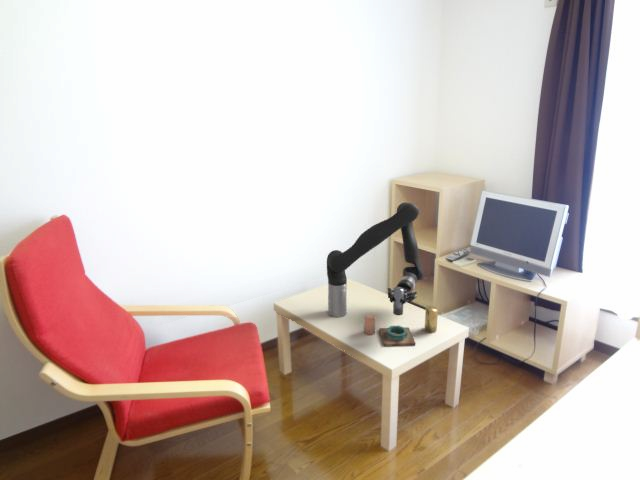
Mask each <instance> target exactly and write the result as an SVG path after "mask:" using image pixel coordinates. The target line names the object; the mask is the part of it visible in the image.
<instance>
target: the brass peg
mask: <svg viewBox="0 0 640 480" xmlns="http://www.w3.org/2000/svg"><path fill="white" fill-rule="evenodd" d="M438 313H439V308H438V307H436V306H434V305H430V306H428V305H427V306H426V307H425V314H424V327H423V328H424V329H423V330H424V331H425V332H426V333H431V334H433V333H436V332H437V328H438V327H437V326H438V315H439V314H438Z"/></svg>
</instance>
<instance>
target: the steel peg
mask: <svg viewBox="0 0 640 480" xmlns="http://www.w3.org/2000/svg"><path fill="white" fill-rule="evenodd" d="M393 290H394V292H393V293H394V300H393V305H392V307H393V308H392V314H393V315H395V316H403V314H404V305H403V304H402V299H403V298H404V288H402V287H396V286H395V287H393Z"/></svg>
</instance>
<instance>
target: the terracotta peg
mask: <svg viewBox="0 0 640 480" xmlns="http://www.w3.org/2000/svg"><path fill="white" fill-rule="evenodd" d="M363 318H364V322H363V323H364V324H363V325H364V327H363V333H364V334H365V335H367V336H372V335H375V334H376V316H375V315H373V314H366V315H364V317H363Z"/></svg>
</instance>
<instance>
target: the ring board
mask: <svg viewBox="0 0 640 480" xmlns="http://www.w3.org/2000/svg"><path fill="white" fill-rule="evenodd" d="M378 331H379V334H380V338H381V341H382V344H383V347H407V346H409V347H410V346H416V341H415V338H414V337H413V334H412V331H411V330H410V327H409V326H406V327H404V326H402V325H390V326H389V327H379V329H378Z"/></svg>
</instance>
